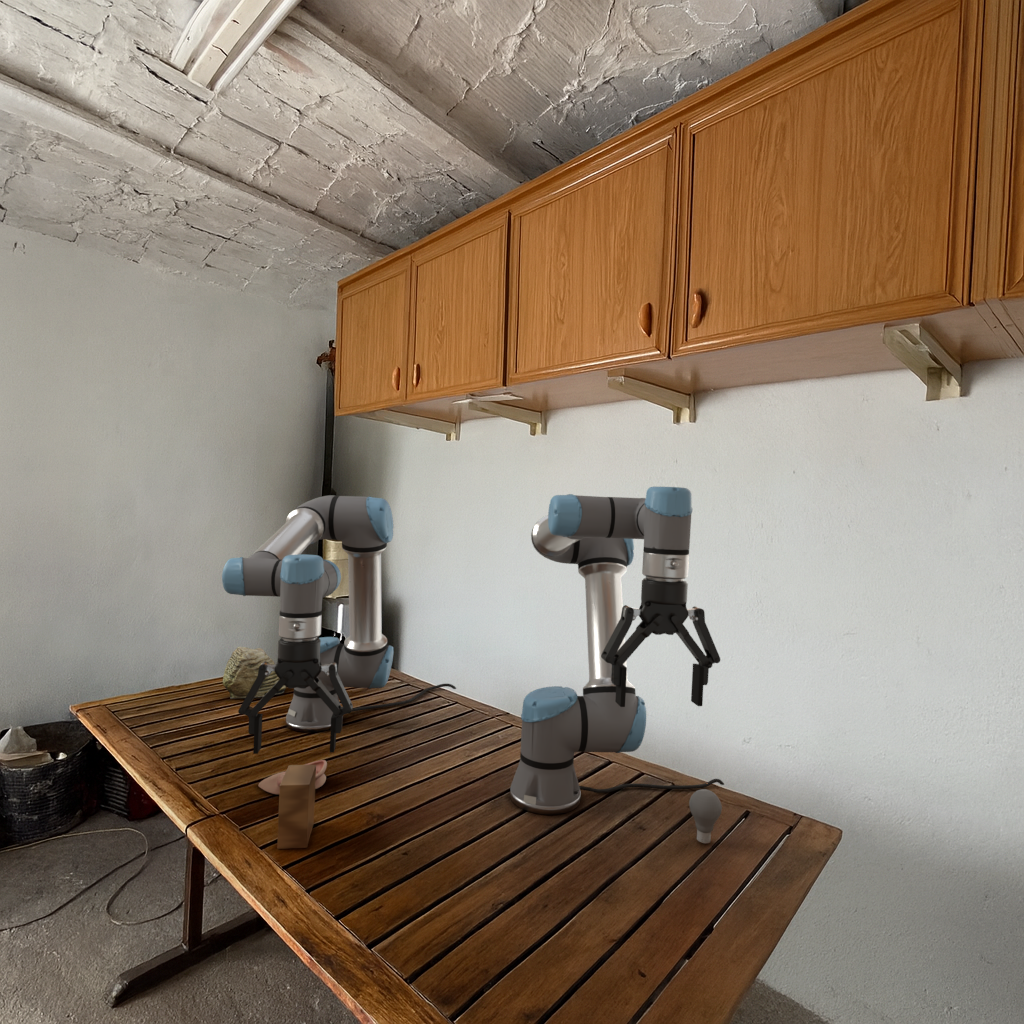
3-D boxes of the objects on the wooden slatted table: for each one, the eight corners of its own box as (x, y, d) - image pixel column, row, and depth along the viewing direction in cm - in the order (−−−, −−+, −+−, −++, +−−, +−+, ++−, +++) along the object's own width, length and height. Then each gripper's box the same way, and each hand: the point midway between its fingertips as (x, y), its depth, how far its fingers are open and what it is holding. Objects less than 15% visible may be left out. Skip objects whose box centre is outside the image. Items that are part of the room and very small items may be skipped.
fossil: (218, 695, 195) (220, 647, 195) (278, 685, 208) (279, 640, 207) (228, 703, 189) (230, 653, 188) (289, 692, 201) (290, 645, 201)
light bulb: (682, 833, 125) (685, 783, 125) (712, 833, 125) (714, 783, 125) (694, 850, 119) (696, 797, 119) (725, 850, 119) (727, 798, 119)
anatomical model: (250, 772, 134) (280, 751, 146) (249, 790, 135) (280, 768, 146) (307, 780, 132) (333, 759, 143) (306, 799, 132) (333, 776, 143)
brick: (277, 849, 114) (279, 785, 113) (286, 824, 122) (288, 765, 122) (306, 847, 114) (309, 784, 114) (313, 823, 123) (316, 764, 123)
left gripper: (223, 641, 113) (218, 759, 113) (366, 642, 117) (361, 757, 117) (235, 632, 120) (230, 743, 121) (369, 634, 124) (364, 741, 124)
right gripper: (599, 579, 101) (593, 712, 101) (745, 583, 105) (738, 710, 105) (586, 574, 108) (581, 697, 108) (723, 577, 112) (717, 696, 112)
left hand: (295, 750), depth 119 cm, fingers open, 13 cm apart
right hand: (658, 704), depth 107 cm, fingers open, 13 cm apart
